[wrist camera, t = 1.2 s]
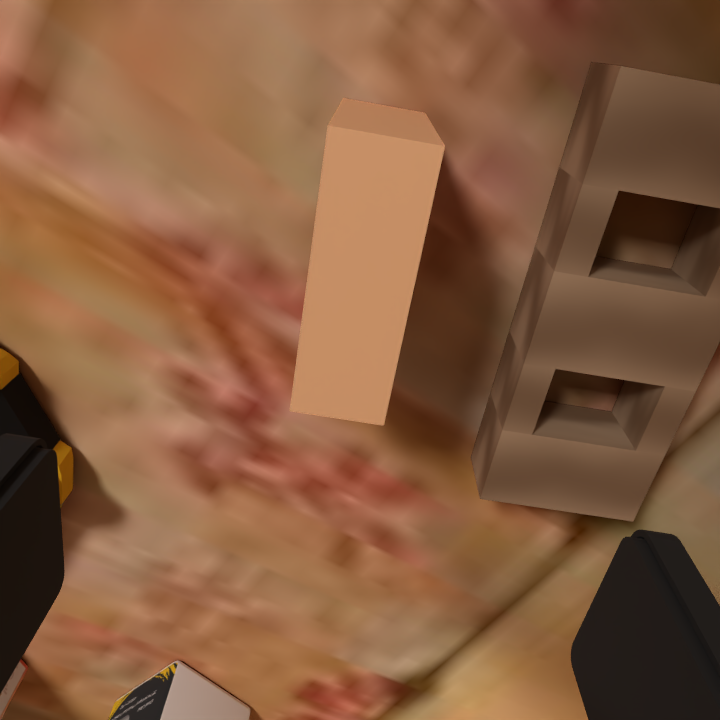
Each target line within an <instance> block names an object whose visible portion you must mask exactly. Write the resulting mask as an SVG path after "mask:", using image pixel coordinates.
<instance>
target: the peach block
mask: <svg viewBox="0 0 720 720" xmlns="http://www.w3.org/2000/svg"><path fill="white" fill-rule="evenodd" d="M444 149H445V145H444V144H443V142H442V140H441V139H440V137H439V135H438V134H437V132H436V130H435V129H434V127H433V125H432V124H431V122H430V120H429V119H428V117H427V115H426V114H425V113H424V112H419V111H413V110H408V109H402V108H396V107H391V106H385V105H380V104H374V103H369V102H363V101H358V100H352V99H347V98H343V99H342V101H341V103H340V104H339V106H338V108H337V110H336V112H335V113H334V115H333V117H332V119H331V121H330V122H329V124H328V128H327V135H326V143H325V150H324V158H323V165H322V173H321V180H320V188H319V195H318V203H317V210H316V218H315V225H314V233H313V240H312V248H311V255H310V263H309V270H308V277H307V285H306V292H305V300H304V307H303V315H302V322H301V330H300V337H299V345H298V352H297V360H296V367H295V375H294V382H293V390H292V397H291V405H290V411H292V412H298V413H305V414H311V415H318V416H324V417H331V418H337V419H344V420H350V421H357V422H363V423H370V424H376V425H383V426H384V422H385V418H386V413H387V409H388V404H389V400H390V395H391V390H392V386H393V381H394V377H395V372H396V368H397V363H398V359H399V354H400V349H401V345H402V340H403V336H404V331H405V327H406V322H407V317H408V313H409V308H410V304H411V299H412V295H413V290H414V286H415V281H416V276H417V272H418V267H419V263H420V258H421V254H422V249H423V244H424V240H425V235H426V231H427V226H428V222H429V217H430V213H431V208H432V203H433V199H434V194H435V190H436V185H437V181H438V176H439V171H440V167H441V162H442V158H443V153H444Z"/></svg>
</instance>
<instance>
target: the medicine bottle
mask: <svg viewBox="0 0 720 720" xmlns="http://www.w3.org/2000/svg"><path fill="white" fill-rule="evenodd" d="M249 717H250V708H249V707H248V706H247V705H246V704H244V703H243V702H241V701H240V700H238V699H237V698H235V697H234V696H232V695H231V694H229V693H228V692H226V691H225V690H223V689H222V688H220V687H219V686H217V685H216V684H214V683H213V682H211V681H210V680H208V679H207V678H205V677H204V676H202V675H201V674H199V673H198V672H196V671H195V670H193V669H192V668H190V667H189V666H187V665H186V664H184V663H183V662H181V661H179V660H177V661H175V662H173V663H171V664H170V665H168V666H167V667H165V668H164V669H162V670H161V671H159V672H158V673H156V674H155V675H153V676H152V677H150V678H149V679H147V680H146V681H144V682H143V683H141V684H140V685H138V686H137V687H135V688H134V689H132V690H131V691H129V692H128V693H126V694H125V695H123V696H122V697H120V698H119V699H117V701H116V702H115V704H114V706H113V709H112V711H111V714H110V716H109V719H108V720H249Z"/></svg>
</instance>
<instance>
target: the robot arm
mask: <svg viewBox="0 0 720 720" xmlns="http://www.w3.org/2000/svg"><path fill="white" fill-rule="evenodd" d="M63 579H64V556H63V540H62V525H61V509H60V494H59V478H58V462H57V454H56V452H55V450H52V449H47V444H46V442H45V440H43V439H41V438H35V437H28V436H22V435H15V434H9V433H6V434H3V435H1V436H0V694H1V692H2V691H3V689H4V687H5V685H6V684H7V682H8V680H9V678H10V677H11V675H12V673H13V672H14V670H15V668H16V666H17V665H18V663H19V661H20V660H21V658H22V656H23V654H24V653H25V651H26V649H27V648H28V646H29V644H30V642H31V641H32V639H33V637H34V635H35V634H36V632H37V630H38V629H39V627H40V625H41V623H42V622H43V620H44V618H45V617H46V615H47V613H48V611H49V610H50V608H51V606H52V605H53V603H54V601H55V599H56V598H57V596H58V594H59V592H60V589H61V587H62V583H63ZM571 663H572V668H573V671H574V674H575V677H576V681H577V684H578V687H579V690H580V694H581V697H582V700H583V703H584V707H585V710H586V713H587V716H588V719H589V720H720V606H719V604H718V602H717V601H716V599H715V597H714V596H713V594H712V592H711V591H710V589H709V588H708V586H707V584H706V583H705V581H704V579H703V578H702V576H701V574H700V573H699V571H698V569H697V568H696V566H695V564H694V563H693V561H692V559H691V558H690V556H689V554H688V553H687V551H686V550H685V548H684V546H683V545H682V543H681V541H680V540H679V539H678V538H677V537H676V536H674V535H672V534H667V533H660V532H653V531H647V530H637V531H635V532H634V533H633V534H632V536H631V537H625V538H623V539H622V541H621V543H620V545H619V547H618V549H617V551H616V553H615V555H614V557H613V559H612V562H611V564H610V566H609V568H608V570H607V572H606V574H605V576H604V578H603V581H602V583H601V585H600V587H599V589H598V591H597V593H596V595H595V597H594V600H593V602H592V604H591V606H590V608H589V610H588V612H587V614H586V616H585V619H584V621H583V623H582V625H581V627H580V629H579V631H578V633H577V635H576V638H575V640H574V642H573V645H572V649H571Z"/></svg>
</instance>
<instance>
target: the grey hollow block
mask: <svg viewBox="0 0 720 720" xmlns="http://www.w3.org/2000/svg"><path fill="white" fill-rule="evenodd" d="M618 191H625V192H630V193H636V194H642V195H647V196H653V197H659V198H664V199H670V200H676V201H681V202H687V203H692V204H698V206H697V208H696V211H695V213H694V215H693V218H692V220H691V223H690V225H689V227H688V230H687V232H686V235H685V237H684V239H683V242H682V244H681V247H680V249H679V251H678V254H677V256H676V259H675V261H674V263H673V266H672V268H671V269H667V268H661V267H655V266H650V265H644V264H638V263H632V262H626V261H620V260H615V259H609V258H603V257H597V256H596V253H597V250H598V248H599V245H600V242H601V239H602V236H603V234H604V231H605V228H606V225H607V222H608V219H609V217H610V214H611V211H612V208H613V205H614V202H615V200H616V197H617V194H618ZM719 342H720V84H715V83H709V82H704V81H699V80H693V79H688V78H683V77H677V76H672V75H667V74H662V73H656V72H651V71H646V70H640V69H635V68H630V67H624V66H618V65H610V64H602V63H595V62H591V65H590V69H589V72H588V75H587V78H586V82H585V85H584V88H583V91H582V95H581V98H580V101H579V105H578V108H577V111H576V114H575V118H574V121H573V124H572V128H571V131H570V134H569V137H568V141H567V144H566V147H565V150H564V154H563V157H562V160H561V164H560V167H559V170H558V173H557V177H556V180H555V183H554V187H553V190H552V193H551V196H550V200H549V203H548V206H547V209H546V213H545V216H544V219H543V223H542V226H541V229H540V232H539V236H538V239H537V242H536V245H535V249H534V252H533V255H532V259H531V262H530V265H529V268H528V272H527V275H526V278H525V282H524V285H523V288H522V291H521V295H520V298H519V301H518V304H517V308H516V311H515V314H514V318H513V321H512V324H511V327H510V331H509V334H508V337H507V341H506V344H505V347H504V350H503V354H502V357H501V360H500V363H499V367H498V370H497V373H496V377H495V380H494V383H493V386H492V390H491V393H490V396H489V399H488V403H487V406H486V409H485V413H484V416H483V419H482V422H481V426H480V429H479V432H478V436H477V439H476V442H475V445H474V449H473V452H472V455H471V460H472V464H473V469H474V473H475V478H476V483H477V487H478V492H479V496H480V499H485V500H492V501H498V502H505V503H512V504H519V505H525V506H532V507H539V508H546V509H552V510H559V511H566V512H572V513H579V514H586V515H593V516H599V517H606V518H613V519H620V520H626V521H634V519H635V517H636V515H637V513H638V510H639V508H640V506H641V504H642V502H643V500H644V498H645V496H646V494H647V492H648V490H649V488H650V486H651V484H652V481H653V479H654V477H655V475H656V473H657V471H658V469H659V467H660V465H661V463H662V461H663V459H664V457H665V454H666V452H667V450H668V448H669V446H670V444H671V442H672V440H673V438H674V436H675V434H676V432H677V430H678V428H679V425H680V423H681V421H682V419H683V417H684V415H685V413H686V411H687V409H688V407H689V405H690V403H691V401H692V398H693V396H694V394H695V392H696V390H697V388H698V386H699V384H700V382H701V380H702V378H703V376H704V374H705V371H706V369H707V367H708V365H709V363H710V361H711V359H712V357H713V355H714V353H715V351H716V349H717V347H718V345H719ZM555 369H559V370H565V371H572V372H578V373H584V374H590V375H597V376H603V377H609V378H615V379H621V380H625V381H624V383H623V386H622V388H621V391H620V393H619V395H618V398H617V400H616V403H615V405H614V407H613V410H612V412H610V411H604V410H598V409H591V408H585V407H579V406H572V405H566V404H560V403H553V402H547V401H544V400H545V397H546V395H547V392H548V389H549V386H550V383H551V380H552V378H553V375H554V372H555Z"/></svg>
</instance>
